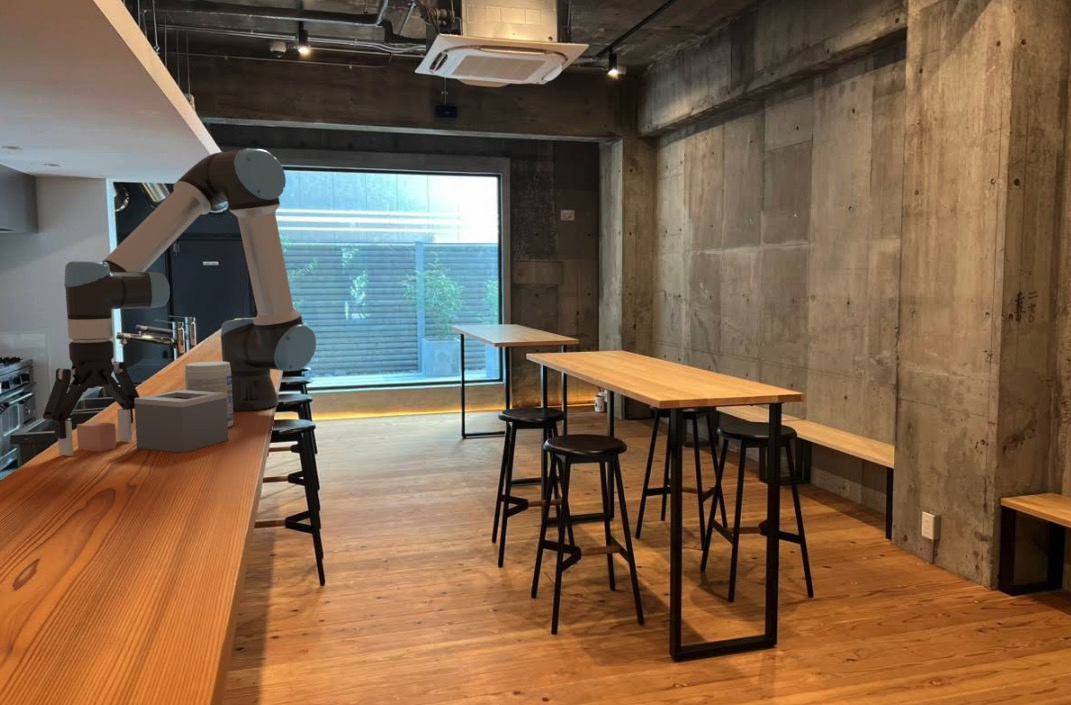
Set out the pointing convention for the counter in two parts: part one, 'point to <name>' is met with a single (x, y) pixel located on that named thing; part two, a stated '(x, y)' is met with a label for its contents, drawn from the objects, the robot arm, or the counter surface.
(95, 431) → the block
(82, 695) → the counter surface
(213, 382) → the supplement tub
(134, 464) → the counter surface
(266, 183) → the robot arm
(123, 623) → the counter surface
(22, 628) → the counter surface
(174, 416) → the box
